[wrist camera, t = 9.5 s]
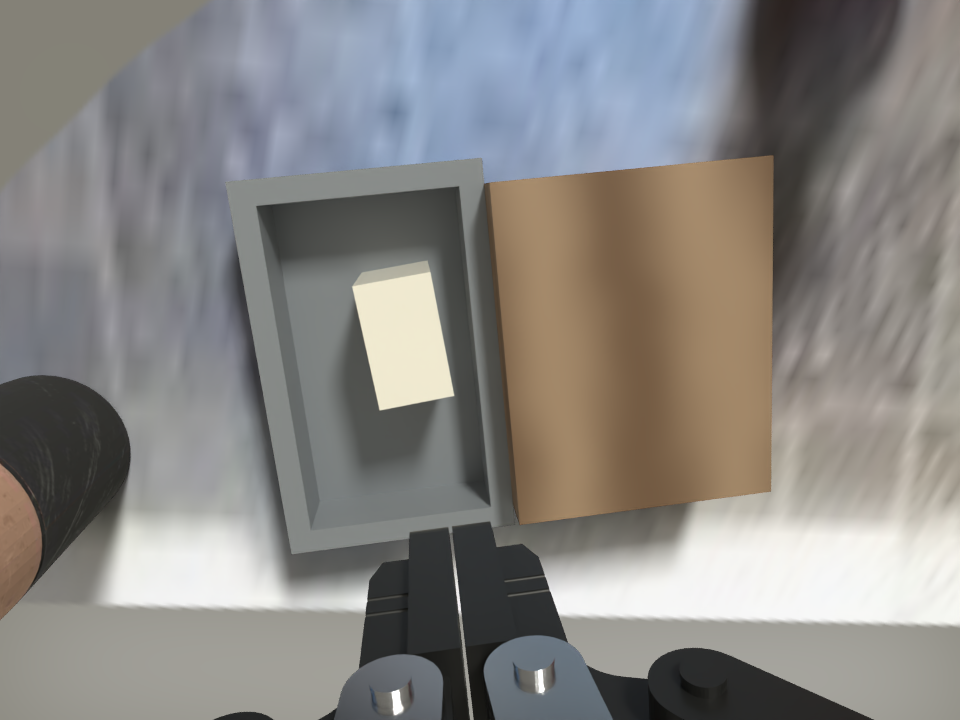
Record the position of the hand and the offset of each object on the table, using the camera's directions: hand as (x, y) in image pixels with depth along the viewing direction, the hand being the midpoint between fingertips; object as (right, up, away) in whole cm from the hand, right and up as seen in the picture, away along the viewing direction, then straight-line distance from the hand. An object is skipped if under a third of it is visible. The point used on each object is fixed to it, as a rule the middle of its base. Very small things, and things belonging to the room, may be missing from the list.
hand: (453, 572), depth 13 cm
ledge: (+6, +6, +21) cm, 22 cm away
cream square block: (-1, +5, +16) cm, 17 cm away
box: (-4, +5, +20) cm, 21 cm away
